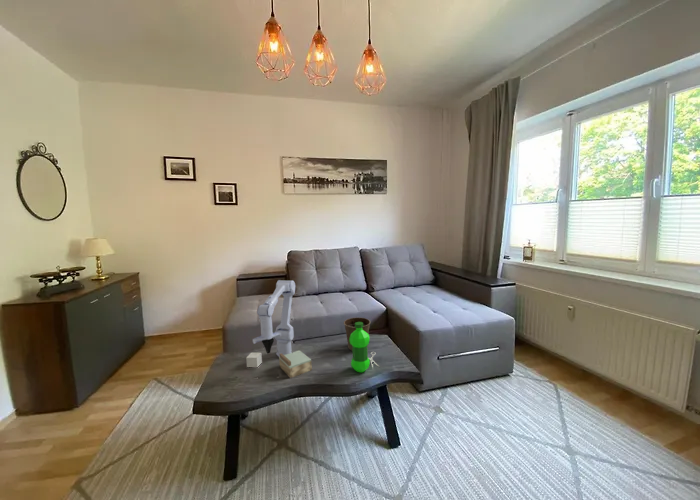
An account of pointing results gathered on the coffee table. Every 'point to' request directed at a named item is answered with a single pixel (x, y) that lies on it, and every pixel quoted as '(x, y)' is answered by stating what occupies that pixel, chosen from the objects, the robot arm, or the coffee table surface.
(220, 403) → the coffee table surface
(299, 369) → the storage box
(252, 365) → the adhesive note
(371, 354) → the scissors
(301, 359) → the lid
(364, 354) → the plastic bottle
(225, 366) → the coffee table surface
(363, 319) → the plant pot
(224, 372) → the coffee table surface
